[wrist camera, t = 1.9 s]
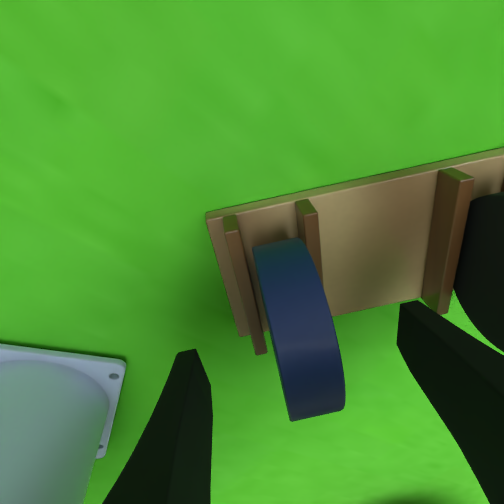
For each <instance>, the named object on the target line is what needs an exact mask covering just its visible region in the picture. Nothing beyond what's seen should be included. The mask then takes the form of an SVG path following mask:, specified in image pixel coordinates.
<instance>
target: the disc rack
mask: <svg viewBox="0 0 504 504" xmlns="http://www.w3.org/2000/svg"><path fill="white" fill-rule="evenodd" d="M499 192H504V147H503V148H499V149H494V150H490V151H485V152H480V153H476V154H471V155H467V156H462V157H458V158H453V159H448V160H444V161H439V162H435V163H430V164H426V165H421V166H416V167H412V168H407V169H403V170H398V171H394V172H389V173H384V174H380V175H375V176H371V177H366V178H362V179H357V180H352V181H348V182H343V183H339V184H334V185H330V186H325V187H320V188H316V189H311V190H307V191H302V192H298V193H293V194H288V195H284V196H279V197H275V198H270V199H266V200H261V201H256V202H252V203H247V204H243V205H238V206H234V207H229V208H224V209H220V210H215V211H211V212H207V213H206V224H207V227H208V231H209V234H210V238H211V241H212V245H213V248H214V252H215V255H216V258H217V262H218V265H219V269H220V272H221V276H222V279H223V283H224V286H225V289H226V293H227V296H228V300H229V303H230V307H231V310H232V313H233V317H234V320H235V324H236V327H237V331H238V334H239V336H240V337H243V336H247V335H251V339H252V343H253V346H254V350H255V354H256V355H261V354H266V353H267V352H268V351H267V346H266V341H265V336H264V332H265V331H269V327H268V322H267V318H266V313H265V309H264V304H263V299H262V295H261V290H260V286H259V281H258V276H257V272H256V267H255V262H254V257H253V252H252V247H254V246H259V245H263V244H268V243H272V242H277V241H281V240H286V239H291V238H295V237H298V238H300V239H301V240H302V241H303V242H304V244H305V245H306V247H307V249H308V251H309V253H310V255H311V257H312V259H313V262H314V264H315V266H316V269H317V272H318V274H319V277H320V280H321V283H322V286H323V289H324V292H325V295H326V298H327V302H328V305H329V308H330V312H331V316H332V317H333V316H338V315H342V314H347V313H351V312H356V311H360V310H365V309H369V308H374V307H378V306H383V305H387V304H392V303H397V302H401V301H406V300H410V299H415V298H419V297H421V298H422V299H423V300H424V302H425V303H426V304H427V305H428V306H429V307H430V309H432V310H433V311H435V312H436V313H438V314H439V315H442V314H446V313H448V310H449V305H450V300H451V295H452V290H454V288H453V285H454V280H455V275H456V270H457V265H458V260H459V255H460V250H461V245H462V240H463V235H464V230H465V225H466V220H467V215H468V210H469V206H470V201H472V200H474V199H476V198H478V197H482V196H485V195H490V194H494V193H499Z"/></svg>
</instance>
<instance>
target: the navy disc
mask: <svg viewBox="0 0 504 504" xmlns="http://www.w3.org/2000/svg"><path fill="white" fill-rule="evenodd" d="M252 252H253V257H254V262H255V267H256V272H257V276H258V281H259V286H260V290H261V295H262V299H263V304H264V309H265V313H266V318H267V322H268V327H269V331H270V336H271V340H272V345H273V349H274V354H275V358H276V363H277V367H278V371H279V376H280V380H281V385H282V389H283V393H284V398H285V402H286V406H287V411H288V415H289V419H290V421H292V422H293V421H297V420H302V419H306V418H311V417H315V416H320V415H324V414H329V413H333V412H337V411H341V410H342V409H344V406H345V380H344V372H343V366H342V360H341V355H340V349H339V345H338V340H337V336H336V331H335V327H334V323H333V319H332V316H331V312H330V308H329V305H328V302H327V298H326V295H325V292H324V289H323V286H322V283H321V280H320V277H319V274H318V272H317V269H316V266H315V264H314V262H313V259H312V257H311V255H310V253H309V251H308V249H307V247H306V245H305V244H304V242H303V241H302V240H301V239H300V238H298V237H295V238H291V239H286V240H281V241H277V242H272V243H268V244H263V245H259V246H254V247H252Z"/></svg>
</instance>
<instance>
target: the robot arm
mask: <svg viewBox="0 0 504 504" xmlns="http://www.w3.org/2000/svg"><path fill="white" fill-rule="evenodd" d="M397 346H398V348H399V350H400V352H401V354H402V356H403V358H404V360H405V362H406V364H407V366H408V368H409V370H410V372H411V373H412V375H413V376H414V378H415V380H416V381H417V383H418V384H419V386H420V387H421V389H422V390H423V392H424V393H425V395H426V396H427V398H428V399H429V401H430V402H431V404H432V405H433V407H434V408H435V410H436V411H437V413H438V414H439V416H440V417H441V419H442V420H443V422H444V423H445V425H446V426H447V428H448V429H449V431H450V432H451V434H452V436H453V437H454V439H455V440H456V442H457V444H458V445H459V447H460V449H461V451H462V452H463V454H464V456H465V458H466V460H467V462H468V463H469V465H470V467H471V469H472V471H473V473H474V474H475V476H476V478H477V480H478V482H479V484H480V486H481V488H482V489H483V491H484V493H485V495H486V497H487V499H488V501H489V503H490V504H504V355H502V354H500V353H498V352H497V351H495V350H493V349H492V348H490V347H489V346H487V345H485V344H484V343H482V342H480V341H479V340H477V339H476V338H474V337H472V336H471V335H469V334H468V333H466V332H465V331H463V330H462V329H460V328H459V327H457V326H455V325H454V324H452V323H451V322H449V321H448V320H446V319H445V318H443V317H442V316H440V315H439V314H438V313H436V312H435V311H433V310H432V309H430V308H429V307H427V306H426V305H424V304H423V303H421V302H420V301H418V300H416V301H411V302H407V303H402V304H400V311H399V322H398V333H397ZM125 370H126V363H125V362H124V361H123V360H120V359H115V358H107V357H100V356H92V355H84V354H77V353H69V352H61V351H54V350H46V349H38V348H31V347H23V346H15V345H8V344H0V504H83V502H84V499H85V495H86V491H87V488H88V484H89V480H90V477H91V473H92V469H93V466H94V462H95V459H99V458H102V457H104V456H105V454H106V450H107V446H108V442H109V438H110V433H111V429H112V425H113V421H114V417H115V412H116V408H117V404H118V400H119V395H120V391H121V387H122V383H123V378H124V374H125ZM212 425H213V410H212V396H211V385H210V382H209V380H208V377H207V375H206V372H205V370H204V367H203V365H202V362H201V360H200V358H199V355H198V353H197V350H196V349H192V350H187V351H182V352H178V354H177V355H176V358H175V360H174V363H173V366H172V368H171V371H170V374H169V376H168V379H167V381H166V384H165V386H164V388H163V391H162V393H161V395H160V398H159V400H158V402H157V404H156V406H155V409H154V411H153V413H152V415H151V417H150V420H149V422H148V424H147V426H146V428H145V430H144V431H143V433H142V435H141V437H140V439H139V441H138V443H137V445H136V447H135V449H134V451H133V453H132V455H131V456H130V458H129V460H128V462H127V464H126V465H125V467H124V469H123V471H122V472H121V474H120V476H119V477H118V479H117V481H116V482H115V484H114V486H113V487H112V489H111V490H110V492H109V494H108V495H107V497H106V498H105V500H104V501H103V503H102V504H210V484H211V456H212Z"/></svg>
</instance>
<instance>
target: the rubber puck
mask: <svg viewBox="0 0 504 504" xmlns="http://www.w3.org/2000/svg"><path fill="white" fill-rule="evenodd" d="M453 288H454V291H455V293H456V296H457V298H458V300H459V302H460V304H461V306H462V308H463V310H464V311H465V313H466V314H467V316H468V317H469V319H470V320H471V322H472V323H473V324H474V326H475V327H476V328H477V329H478V330H479V331H480V333H481V334H482V335H483V336H484V337H485V338H486V339H487V340H488V341H490V342H491V343H492V344H493V345H494V346H496V347H497V348H498V349H500V350H501V351H503V352H504V192H499V193H494V194H490V195H485V196H482V197H478V198H476V199H474V200H472V201H470V206H469V210H468V215H467V220H466V225H465V230H464V235H463V240H462V245H461V250H460V255H459V260H458V265H457V270H456V275H455V280H454V285H453Z"/></svg>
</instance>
